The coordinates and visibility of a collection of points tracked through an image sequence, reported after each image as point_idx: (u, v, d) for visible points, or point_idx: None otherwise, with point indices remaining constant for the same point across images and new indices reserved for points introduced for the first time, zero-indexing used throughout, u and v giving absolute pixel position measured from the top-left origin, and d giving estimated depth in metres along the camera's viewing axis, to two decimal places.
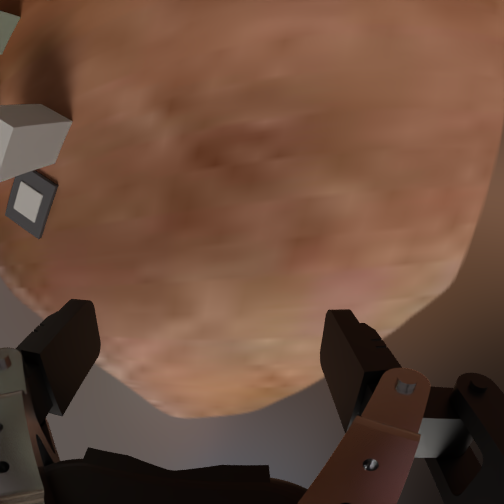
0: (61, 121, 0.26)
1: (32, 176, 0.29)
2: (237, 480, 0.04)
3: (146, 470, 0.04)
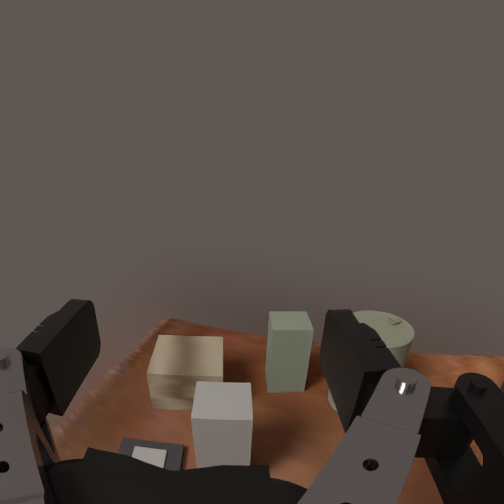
0: None
1: (176, 461, 0.28)
2: (237, 480, 0.04)
3: (145, 469, 0.04)
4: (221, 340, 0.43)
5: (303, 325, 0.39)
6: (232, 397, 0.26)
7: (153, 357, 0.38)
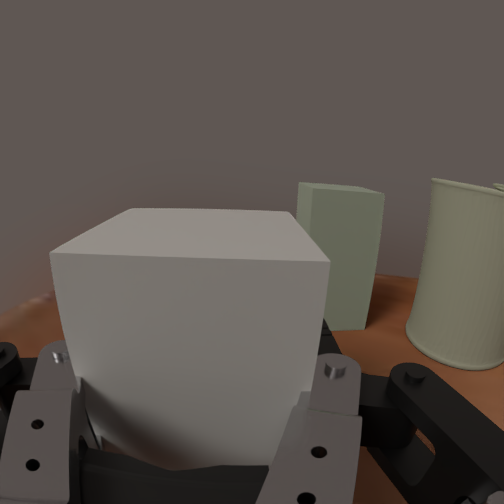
0: None
1: None
2: (237, 480, 0.04)
3: (146, 470, 0.04)
4: None
5: (364, 190, 0.21)
6: (234, 223, 0.08)
7: None
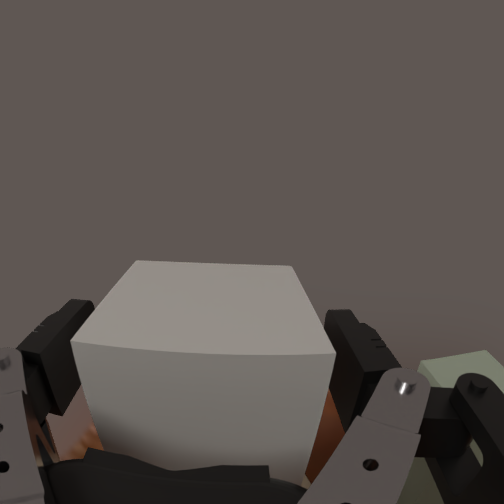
0: None
1: None
2: (237, 480, 0.04)
3: (145, 469, 0.04)
4: None
5: None
6: (242, 290, 0.08)
7: None
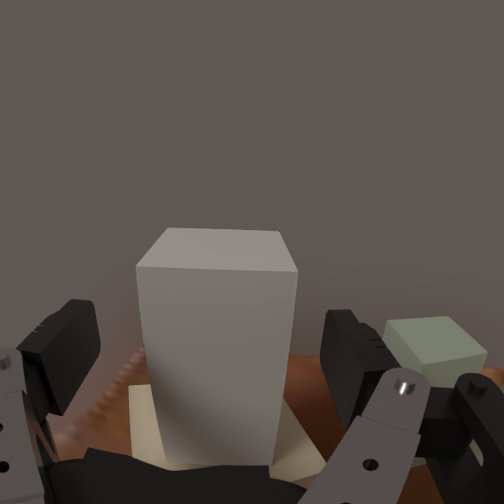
0: None
1: None
2: (237, 480, 0.04)
3: (145, 469, 0.04)
4: None
5: (466, 346, 0.15)
6: (243, 243, 0.13)
7: (137, 453, 0.13)
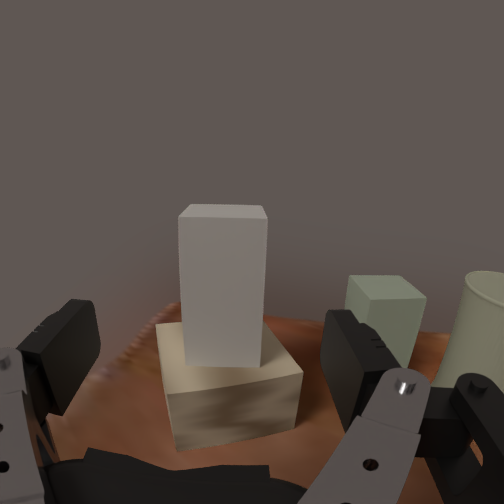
0: None
1: None
2: (237, 480, 0.04)
3: (145, 469, 0.04)
4: None
5: (409, 293, 0.23)
6: (238, 209, 0.21)
7: (165, 362, 0.21)
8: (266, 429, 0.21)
